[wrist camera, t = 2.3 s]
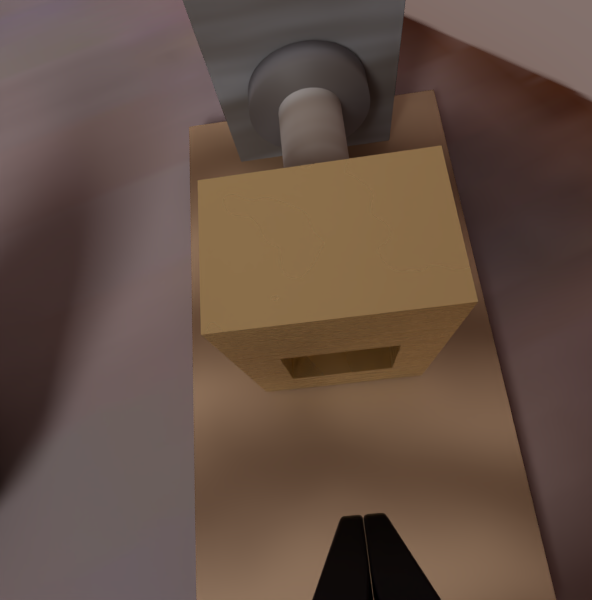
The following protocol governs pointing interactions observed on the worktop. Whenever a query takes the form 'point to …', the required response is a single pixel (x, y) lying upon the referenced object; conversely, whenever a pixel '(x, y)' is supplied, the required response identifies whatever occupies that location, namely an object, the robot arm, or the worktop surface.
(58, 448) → the worktop surface
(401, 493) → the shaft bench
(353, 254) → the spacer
